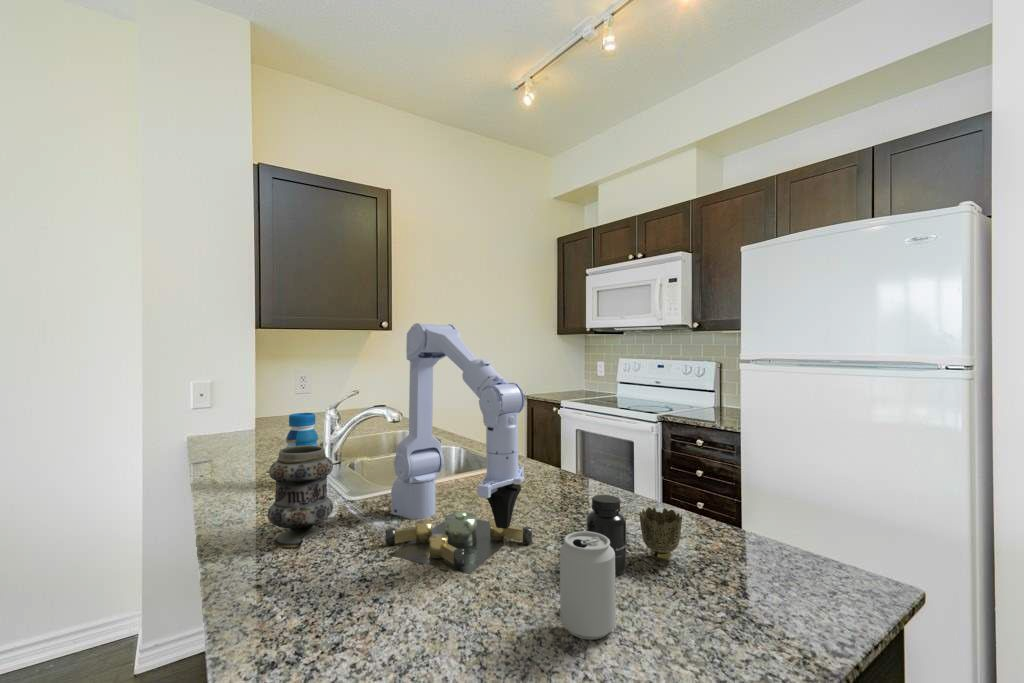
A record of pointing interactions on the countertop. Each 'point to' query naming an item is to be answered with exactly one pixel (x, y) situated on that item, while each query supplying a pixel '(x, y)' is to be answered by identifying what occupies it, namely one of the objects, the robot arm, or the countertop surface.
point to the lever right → (510, 533)
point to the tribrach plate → (469, 551)
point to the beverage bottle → (302, 430)
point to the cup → (660, 532)
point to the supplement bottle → (609, 526)
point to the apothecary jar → (300, 493)
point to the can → (587, 585)
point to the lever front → (446, 550)
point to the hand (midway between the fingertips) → (502, 526)
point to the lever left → (410, 533)
